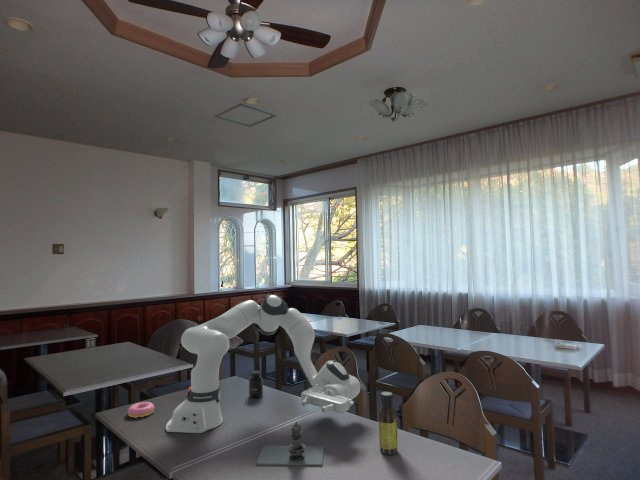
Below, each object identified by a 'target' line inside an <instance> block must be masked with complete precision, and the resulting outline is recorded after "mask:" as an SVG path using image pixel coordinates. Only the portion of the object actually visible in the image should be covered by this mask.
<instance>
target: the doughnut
mask: <svg viewBox="0 0 640 480" xmlns="http://www.w3.org/2000/svg"><path fill="white" fill-rule="evenodd" d="M154 411H155V404H154V403H152V402H151V401H141V402H137V403H134V404H132V405H130V406H129V407H128V409H127V415H128V416H129V417H130V418H132V417H133V418H134V419H139V418H138V417H141V418H144V416H145V417H149V416H150V415H151V414H152V413H154Z"/></svg>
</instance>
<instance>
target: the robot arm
mask: <svg viewBox="0 0 640 480" xmlns="http://www.w3.org/2000/svg"><path fill="white" fill-rule="evenodd" d="M250 325H253V328H255V329H256V330H257V331H258V332H260V333H261V334H262V335H265V336H271V335H274V334H275V333H276V332H277V331H278V329H279V328H280V327H281V328H283V329H284V330H285V332H286V334H287V335H288V336H289V338H290V340H291V342H292V345H293V352H294V356H295V360H296V361H297V364H298V367H299V368H300V369H301V371H302V373H303V376H304V378H305V380H306V382H307V384H308V388H307V389H305V390H304V391H302V392H301V395H300V401H301V406H302V407H307V406H308V405H311V406H314V407H318V408H321V412H323V413H327V412H334V413H338V414H344V413H346V412H347V411H348V410H350V408H351V406H353V405H354V404H355V402H354V399H355V398H356V397H357V396H358V395H359V393H360V391H361V382H360V381H359V379H358V378H357V377H355V376H354V375H351V374H349V372H348V370H347V368H346V367H345V366H344V365H343V363H342V362H340V361H337V360H334V359H330V360H327V361H326V362H325V364H324V365H323V366H322V367H321V368H320V370H319V371H317V369H316V367H315V365H314V364H313V362H312V360H311V353H312V352H311V351H312V348H313V345H314V342H315V339H316V334H315V333H316V332H315V330H314V327H313V326H312V324H311V323H310V321H308V319H307V317H305V315H303V314H302V313H301V312H300V311H299V310H298V309H297V308H294V307H290V308H289V305H288V303H287V302H285V300H284V299H283V297H281V296H279V295H276V294H268V295H266V296H265V297H264V298H263V299H262V300H261V304H260V305H259V304H258V303H257V302H256V301H255V300H251V299H248V300H244V301H243V302H242V301H241V303H238V304H236V305H234V306H233V307H231V308H230V309H229V310H227V311H226V312H224V313H222V314H221V315H218V316H217V317H215V318H212V319H210V320H208V321H206V322H203V323H201V324H198V325H195V326H192V327H189V328H187V329H185V331H183V333H182V334H181V338H180V343H181V345H182V347H183V348H184V350H186V351H188V352H189V353H191V354H195V355H197V360H196V364H195V366H193V368H192V369H191V372H190V381H191V382H190V384H191V385H190V386H189V388H188V389H187V391H186V392H185V393H186V394H185V399H184V400H183V402H181V403H180V404H178V405H177V407H175V409H174V410H173V412H172V415H171V418H170V419H169V420H168V421H167V423H166V425H165V431H166V432H167V433H168V432H169V433H170V432H171V433H187V434H188V433H189V434H202V433H205V432H206V431H209V430H211V429H215V428H217V427H219V426H220V425H222V424H223V422H224V418H223V415H222V409H221V404H220V401H221V388H220V384H219V383H220V382H219V381H220V380H219V379H220V376H219V375H220V366H221V362H222V359H223V357H224V356H225V355H226V354H227V353H228V351H229V348H230V339H232V338H234V337H236V336H237V335H239V334H240V333H241V332H242V331H244V330H245V329H247V328H248V327H249V326H250Z"/></svg>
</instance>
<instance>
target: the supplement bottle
mask: <svg viewBox="0 0 640 480" xmlns="http://www.w3.org/2000/svg"><path fill="white" fill-rule="evenodd" d="M261 375H262V371H261V370H252V371H251V372H250V378H248V398H249V399H252V400H253V399H254V400H256V399H257V400H258V399H260V398H262V397H264V396H263V395H264V379H263V377H262V376H261Z"/></svg>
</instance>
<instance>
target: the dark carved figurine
mask: <svg viewBox="0 0 640 480" xmlns="http://www.w3.org/2000/svg"><path fill="white" fill-rule="evenodd" d="M291 427H292V429H291V430H292V431H291V432H292V433H291V435H290V437H291V443H290V444H289V445H287V446H288V449H289V452H290V454H291V455H290V457H289V459H290V460H291V461H293V462H299V461H302V460H304V458H305V456H304V455H303V452H304V449H305V446H306V445H305V444H304V443H302V436H303V435H302V433H301V425H300V424H298V422H297V421H296V422H295V424H293V425H292V426H291Z"/></svg>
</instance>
